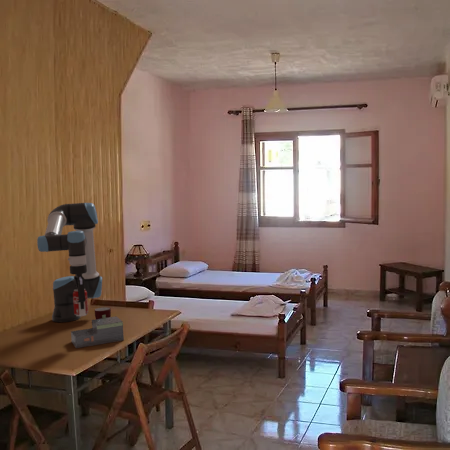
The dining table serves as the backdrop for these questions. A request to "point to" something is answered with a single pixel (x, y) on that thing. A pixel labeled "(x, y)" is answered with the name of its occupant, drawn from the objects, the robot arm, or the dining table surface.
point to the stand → (99, 332)
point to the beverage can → (76, 304)
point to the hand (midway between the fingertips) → (81, 314)
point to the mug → (102, 312)
